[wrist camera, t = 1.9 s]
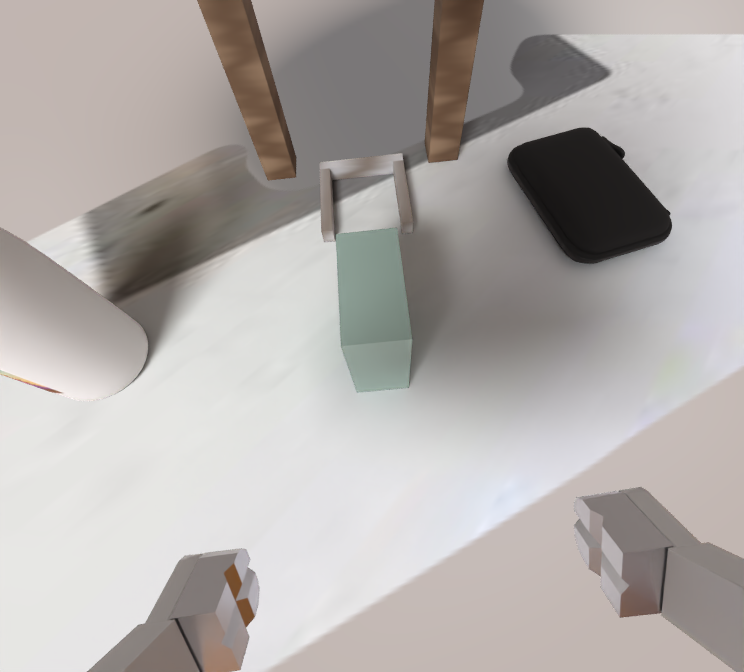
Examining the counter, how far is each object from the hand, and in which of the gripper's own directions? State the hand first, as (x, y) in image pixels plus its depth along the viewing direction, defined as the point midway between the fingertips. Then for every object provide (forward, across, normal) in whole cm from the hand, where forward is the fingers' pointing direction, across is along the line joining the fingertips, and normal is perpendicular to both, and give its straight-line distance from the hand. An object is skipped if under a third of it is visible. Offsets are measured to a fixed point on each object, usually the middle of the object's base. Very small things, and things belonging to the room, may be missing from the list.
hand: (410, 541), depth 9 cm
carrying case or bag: (+31, -21, -5) cm, 38 cm away
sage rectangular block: (+22, 0, +2) cm, 22 cm away
